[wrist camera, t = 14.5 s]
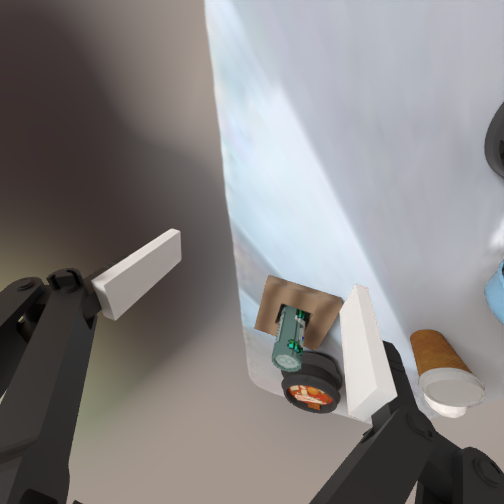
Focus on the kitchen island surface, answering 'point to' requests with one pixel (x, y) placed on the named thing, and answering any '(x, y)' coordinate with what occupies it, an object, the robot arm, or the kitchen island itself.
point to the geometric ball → (446, 409)
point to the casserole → (313, 384)
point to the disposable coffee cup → (444, 371)
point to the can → (289, 339)
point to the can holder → (301, 298)
